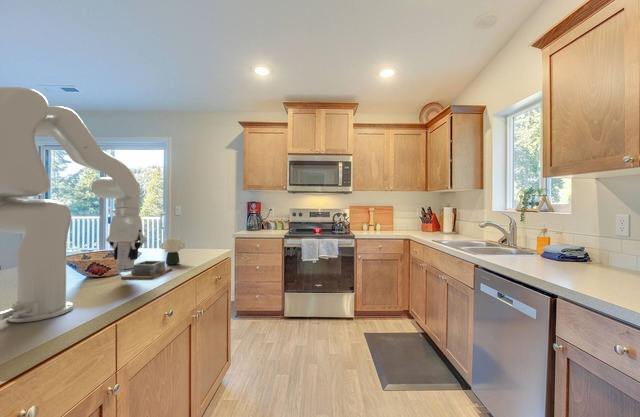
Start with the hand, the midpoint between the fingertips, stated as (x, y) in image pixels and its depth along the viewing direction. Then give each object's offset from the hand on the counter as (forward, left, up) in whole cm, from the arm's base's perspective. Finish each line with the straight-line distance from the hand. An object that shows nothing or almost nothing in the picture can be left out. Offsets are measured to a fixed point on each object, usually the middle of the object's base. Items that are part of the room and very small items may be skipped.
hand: (125, 258), depth 105 cm
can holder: (+13, -1, -9) cm, 16 cm away
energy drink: (0, 0, -5) cm, 5 cm away
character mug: (+33, -1, -10) cm, 34 cm away
